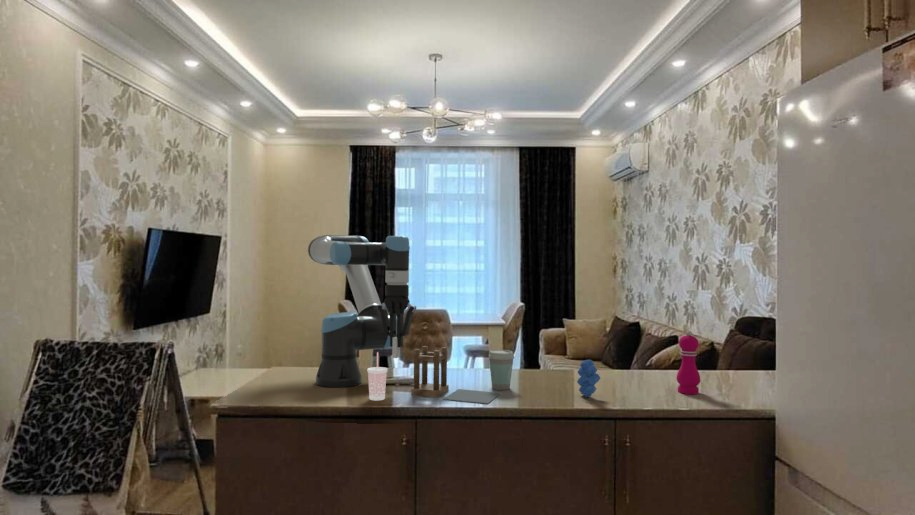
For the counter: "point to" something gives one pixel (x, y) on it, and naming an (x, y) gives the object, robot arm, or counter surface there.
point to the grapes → (588, 378)
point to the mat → (472, 396)
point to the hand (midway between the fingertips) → (396, 357)
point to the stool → (425, 387)
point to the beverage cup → (377, 382)
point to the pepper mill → (688, 365)
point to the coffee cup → (501, 368)
